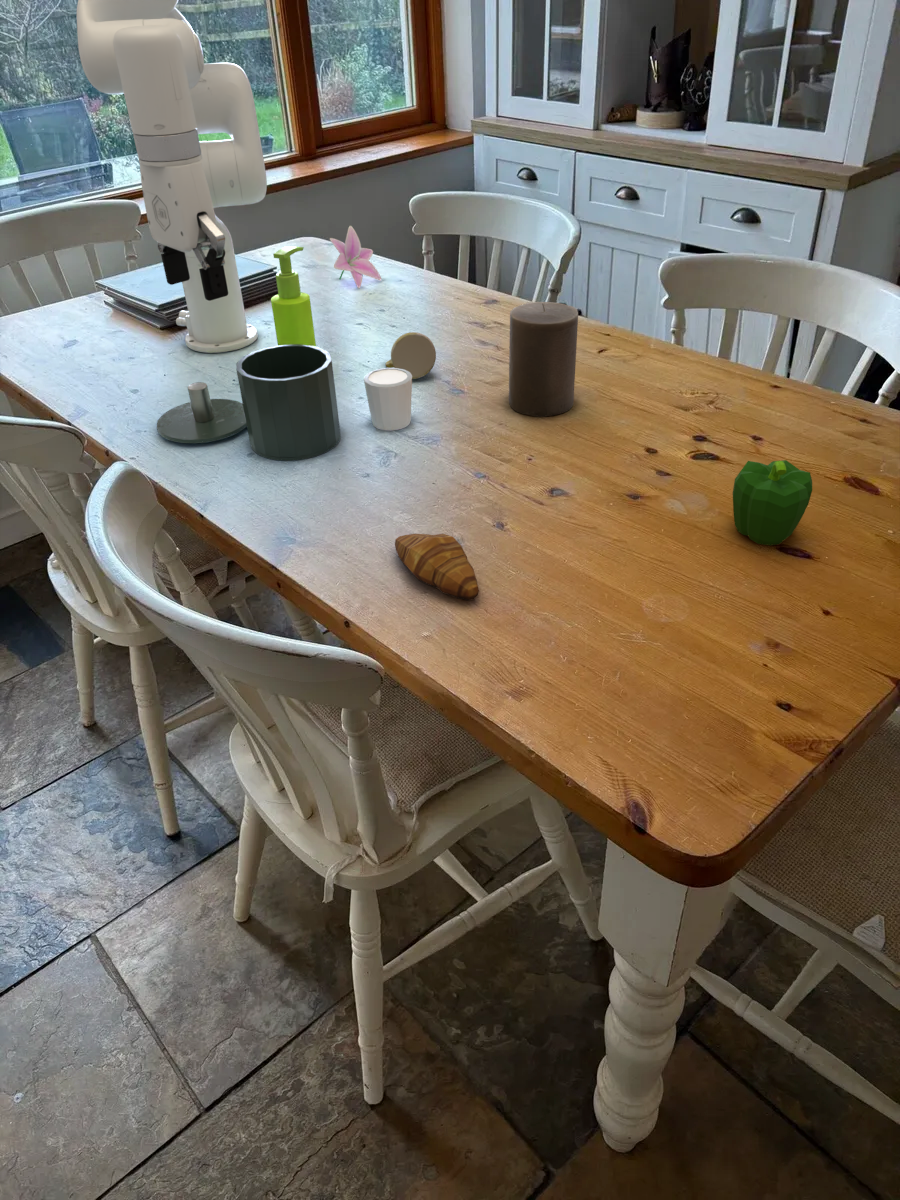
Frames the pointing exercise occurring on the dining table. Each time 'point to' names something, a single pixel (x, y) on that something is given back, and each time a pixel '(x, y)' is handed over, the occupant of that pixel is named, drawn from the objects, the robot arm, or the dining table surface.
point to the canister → (289, 401)
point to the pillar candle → (542, 358)
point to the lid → (202, 418)
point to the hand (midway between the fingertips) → (197, 289)
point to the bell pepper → (770, 500)
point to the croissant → (439, 563)
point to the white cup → (389, 397)
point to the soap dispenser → (291, 304)
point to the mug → (413, 354)
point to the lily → (354, 258)
